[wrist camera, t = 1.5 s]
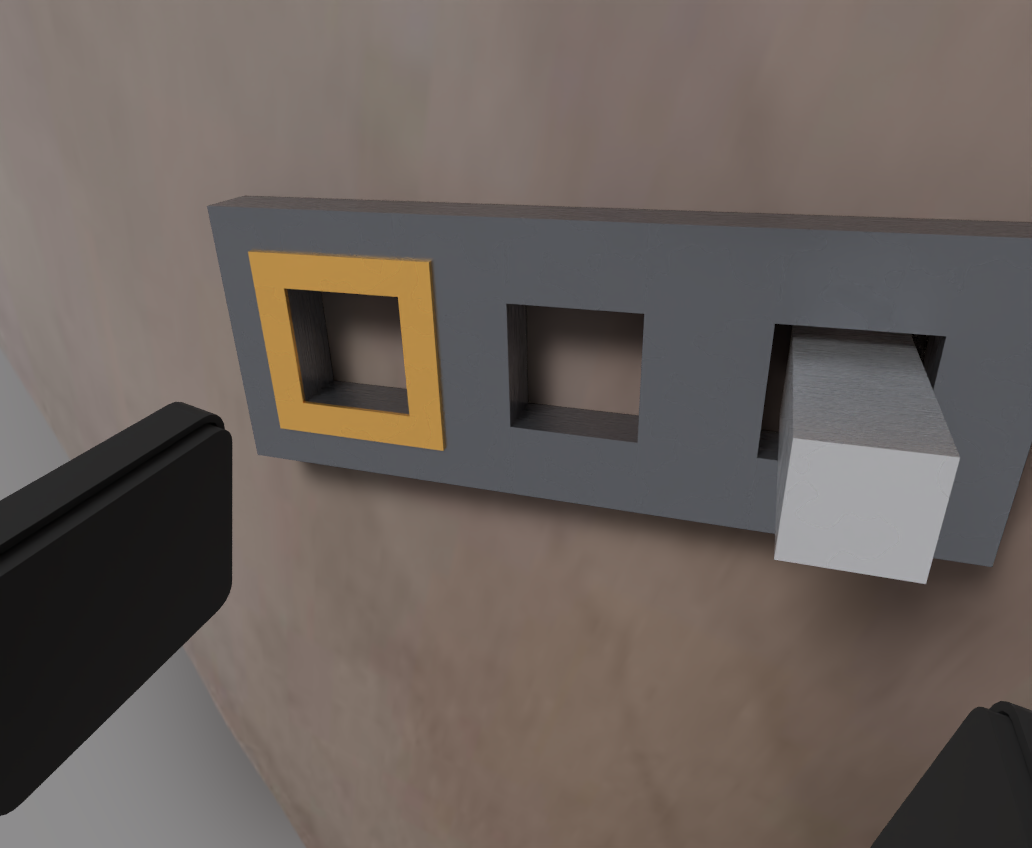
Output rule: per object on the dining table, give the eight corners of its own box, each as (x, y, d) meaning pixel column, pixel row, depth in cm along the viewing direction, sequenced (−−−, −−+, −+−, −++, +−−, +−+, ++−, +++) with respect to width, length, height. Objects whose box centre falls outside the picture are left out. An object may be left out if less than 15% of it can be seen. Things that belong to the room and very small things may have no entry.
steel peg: (908, 330, 27) (960, 457, 19) (887, 427, 29) (925, 584, 21) (793, 321, 29) (793, 438, 20) (779, 416, 30) (774, 559, 22)
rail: (1069, 223, 24) (1097, 241, 22) (978, 529, 30) (993, 570, 27) (244, 195, 34) (203, 206, 32) (286, 432, 39) (255, 456, 37)
